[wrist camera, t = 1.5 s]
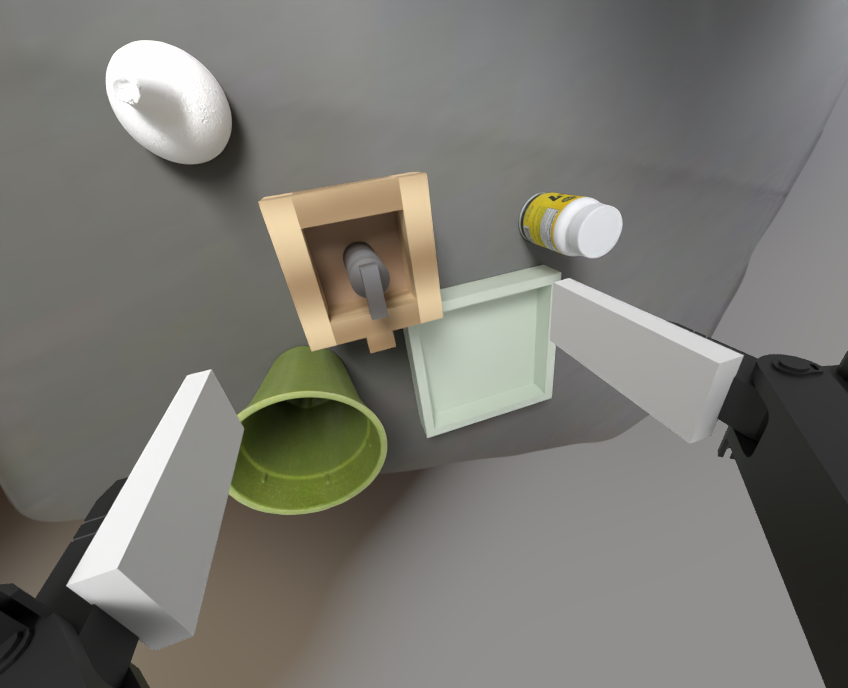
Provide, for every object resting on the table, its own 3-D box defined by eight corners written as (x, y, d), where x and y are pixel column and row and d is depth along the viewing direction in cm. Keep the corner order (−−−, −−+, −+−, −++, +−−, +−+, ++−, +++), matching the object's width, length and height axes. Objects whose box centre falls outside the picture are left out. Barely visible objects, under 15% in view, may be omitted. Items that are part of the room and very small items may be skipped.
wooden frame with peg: (264, 197, 22) (258, 202, 19) (414, 171, 23) (426, 173, 21) (316, 348, 27) (317, 367, 25) (433, 318, 29) (445, 333, 27)
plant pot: (267, 302, 29) (246, 369, 20) (386, 346, 35) (414, 416, 25) (223, 407, 33) (188, 507, 23) (338, 432, 38) (348, 522, 29)
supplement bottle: (567, 195, 33) (637, 205, 26) (551, 244, 35) (612, 266, 28) (525, 187, 31) (588, 195, 24) (511, 239, 33) (565, 261, 26)
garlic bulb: (221, 56, 22) (177, -11, 15) (246, 165, 25) (218, 150, 18) (107, 51, 21) (-2, -27, 14) (146, 167, 23) (71, 152, 16)
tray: (397, 299, 33) (404, 311, 30) (543, 264, 36) (561, 272, 33) (420, 421, 41) (427, 438, 38) (537, 384, 44) (551, 398, 41)
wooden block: (289, 202, 26) (277, 227, 17) (388, 185, 28) (429, 198, 18) (318, 297, 31) (323, 360, 21) (404, 277, 32) (444, 328, 22)
